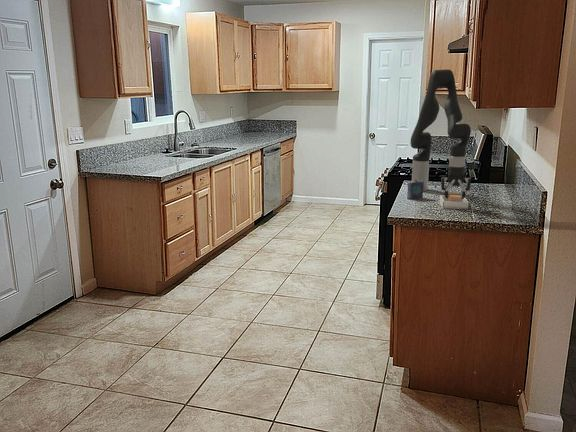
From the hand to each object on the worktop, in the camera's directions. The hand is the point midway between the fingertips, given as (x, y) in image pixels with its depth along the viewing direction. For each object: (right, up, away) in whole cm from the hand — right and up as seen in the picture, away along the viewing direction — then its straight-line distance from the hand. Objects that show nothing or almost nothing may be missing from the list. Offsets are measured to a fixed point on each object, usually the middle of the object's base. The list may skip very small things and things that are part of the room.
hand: (454, 198), depth 249 cm
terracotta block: (0, -3, +1) cm, 3 cm away
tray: (+1, -3, +4) cm, 6 cm away
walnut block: (+1, -2, +7) cm, 8 cm away
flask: (-14, +1, +22) cm, 27 cm away
